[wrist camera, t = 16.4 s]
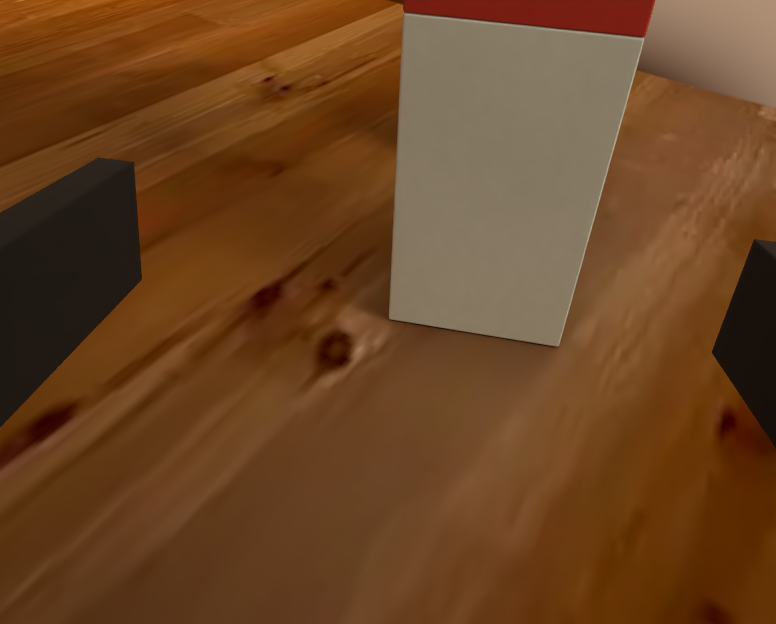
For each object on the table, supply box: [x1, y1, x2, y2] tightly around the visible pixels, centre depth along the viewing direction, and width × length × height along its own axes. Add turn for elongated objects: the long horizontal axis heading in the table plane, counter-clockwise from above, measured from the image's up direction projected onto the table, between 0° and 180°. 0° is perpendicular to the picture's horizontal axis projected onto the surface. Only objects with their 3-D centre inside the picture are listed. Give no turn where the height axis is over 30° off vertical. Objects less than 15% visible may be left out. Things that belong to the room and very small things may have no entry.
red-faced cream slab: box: [389, 0, 655, 347], centre depth 24 cm, size 13×6×13 cm
